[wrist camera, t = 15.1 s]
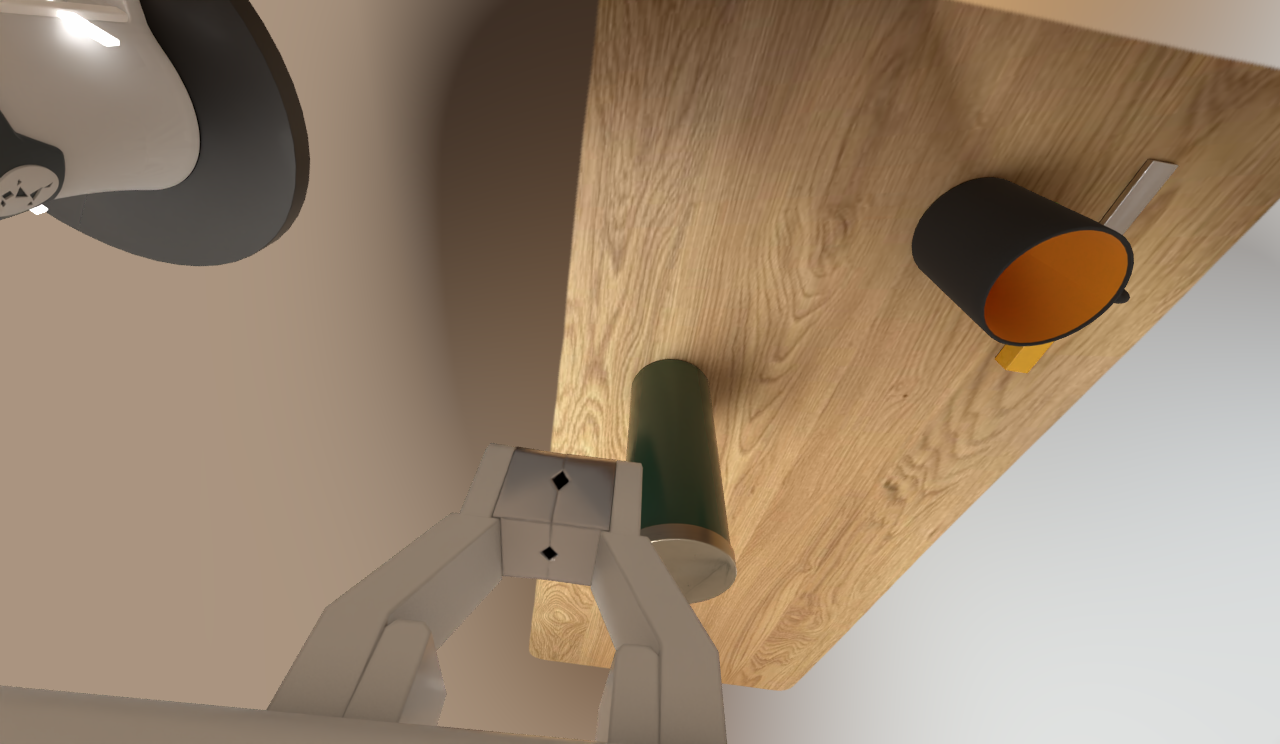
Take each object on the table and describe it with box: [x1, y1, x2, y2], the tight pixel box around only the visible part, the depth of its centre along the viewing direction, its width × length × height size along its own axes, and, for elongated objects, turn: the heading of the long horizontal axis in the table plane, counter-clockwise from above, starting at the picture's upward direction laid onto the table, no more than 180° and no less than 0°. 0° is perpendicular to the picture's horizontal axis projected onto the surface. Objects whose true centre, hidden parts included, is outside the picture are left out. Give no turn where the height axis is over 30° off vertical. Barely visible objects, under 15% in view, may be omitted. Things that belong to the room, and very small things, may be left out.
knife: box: [995, 159, 1179, 373], centre depth 38 cm, size 18×2×2 cm, turn 171°
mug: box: [912, 177, 1134, 347], centre depth 33 cm, size 8×12×10 cm
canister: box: [626, 359, 737, 604], centre depth 40 cm, size 8×8×20 cm
